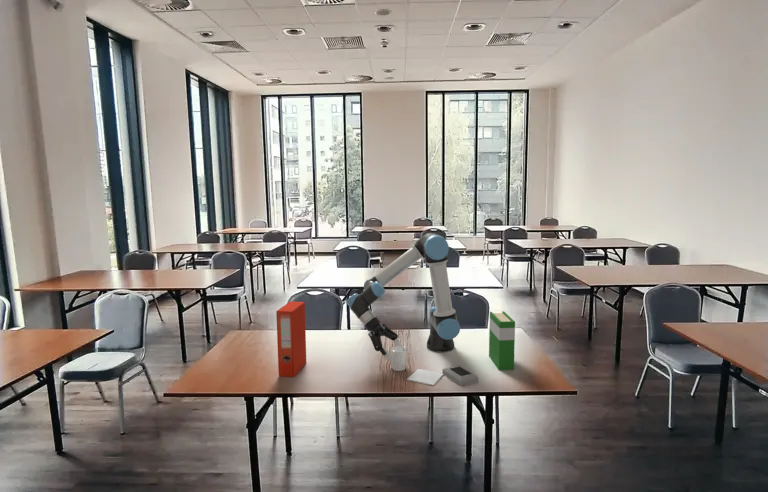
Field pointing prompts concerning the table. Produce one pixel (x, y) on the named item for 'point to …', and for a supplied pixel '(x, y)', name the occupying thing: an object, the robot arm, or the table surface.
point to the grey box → (460, 375)
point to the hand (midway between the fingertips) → (397, 354)
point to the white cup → (398, 358)
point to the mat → (425, 377)
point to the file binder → (291, 338)
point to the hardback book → (502, 340)
